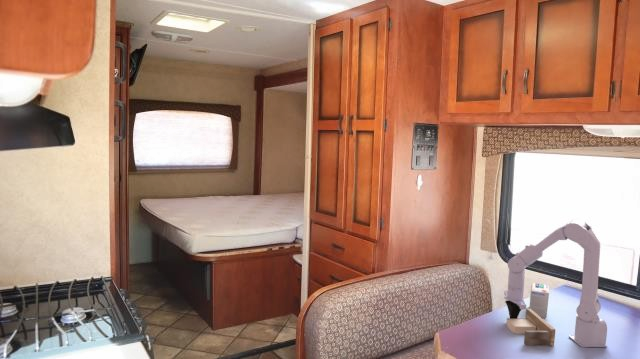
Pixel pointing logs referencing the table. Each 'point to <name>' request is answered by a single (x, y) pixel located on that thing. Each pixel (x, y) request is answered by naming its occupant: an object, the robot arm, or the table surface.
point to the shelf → (538, 331)
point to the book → (520, 325)
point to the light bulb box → (539, 299)
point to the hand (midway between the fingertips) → (513, 319)
